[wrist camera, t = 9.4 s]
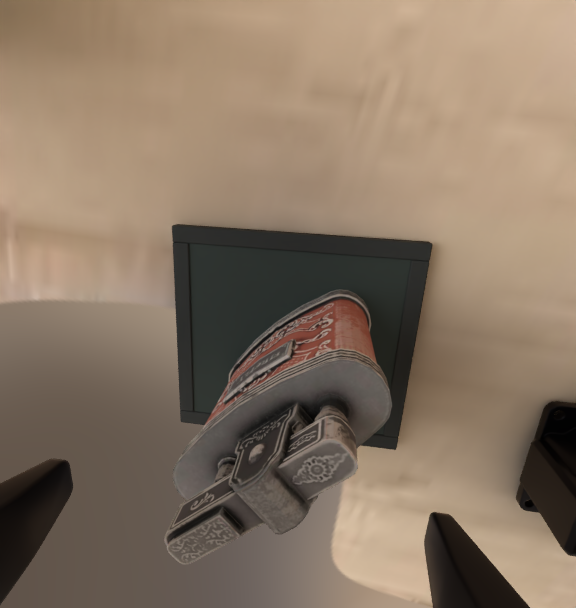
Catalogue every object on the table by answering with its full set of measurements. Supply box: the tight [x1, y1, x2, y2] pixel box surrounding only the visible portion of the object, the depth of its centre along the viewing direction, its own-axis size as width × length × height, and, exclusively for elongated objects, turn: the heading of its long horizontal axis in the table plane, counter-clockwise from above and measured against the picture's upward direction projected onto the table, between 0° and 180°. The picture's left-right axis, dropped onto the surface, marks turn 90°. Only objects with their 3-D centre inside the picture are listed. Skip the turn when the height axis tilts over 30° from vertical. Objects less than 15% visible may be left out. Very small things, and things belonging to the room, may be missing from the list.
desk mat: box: [172, 224, 432, 450], centre depth 18 cm, size 12×11×1 cm
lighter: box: [164, 289, 392, 564], centre depth 14 cm, size 8×3×10 cm, turn 130°
